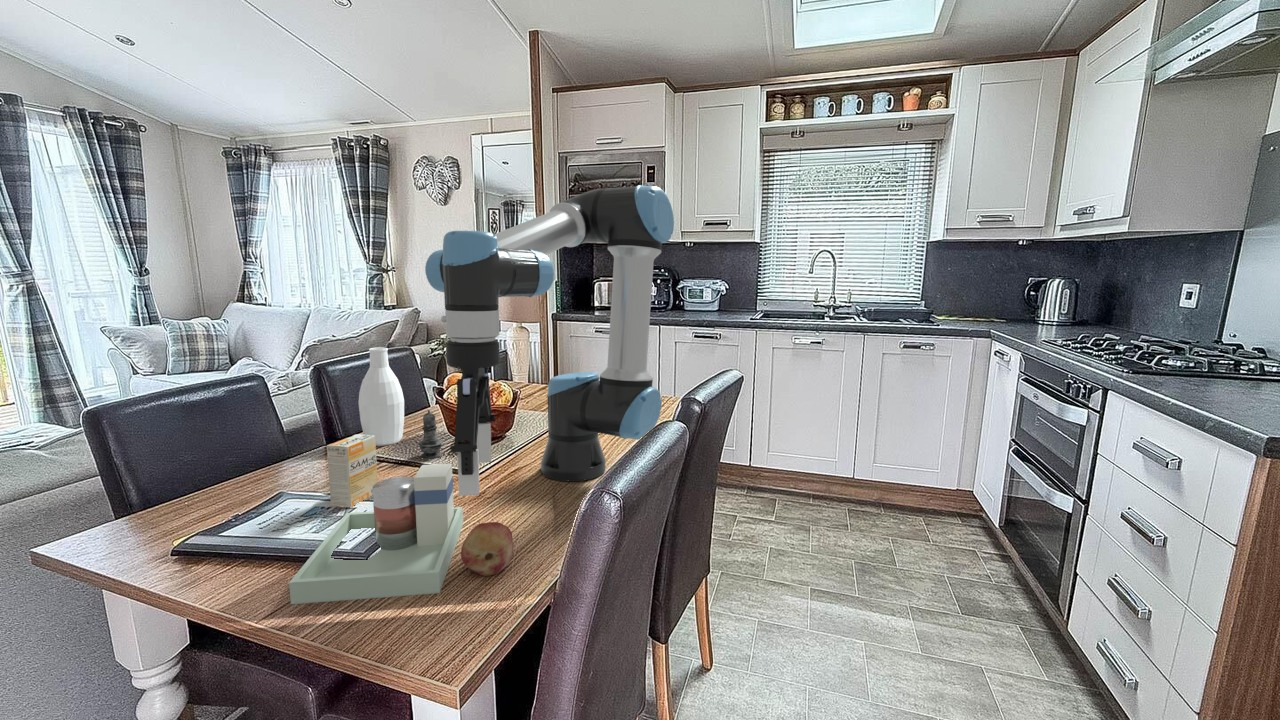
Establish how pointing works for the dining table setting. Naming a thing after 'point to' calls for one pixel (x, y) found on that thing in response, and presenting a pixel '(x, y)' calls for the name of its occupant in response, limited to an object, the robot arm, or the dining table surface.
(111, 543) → the dining table surface
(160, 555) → the dining table surface
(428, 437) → the chess piece
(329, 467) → the supplement box
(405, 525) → the tin
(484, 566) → the fruit
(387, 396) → the bottle
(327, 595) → the tote
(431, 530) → the box
